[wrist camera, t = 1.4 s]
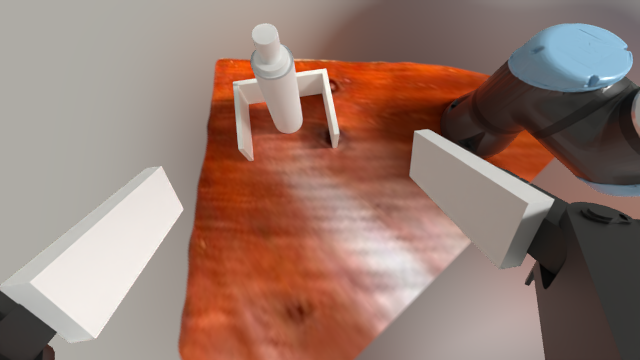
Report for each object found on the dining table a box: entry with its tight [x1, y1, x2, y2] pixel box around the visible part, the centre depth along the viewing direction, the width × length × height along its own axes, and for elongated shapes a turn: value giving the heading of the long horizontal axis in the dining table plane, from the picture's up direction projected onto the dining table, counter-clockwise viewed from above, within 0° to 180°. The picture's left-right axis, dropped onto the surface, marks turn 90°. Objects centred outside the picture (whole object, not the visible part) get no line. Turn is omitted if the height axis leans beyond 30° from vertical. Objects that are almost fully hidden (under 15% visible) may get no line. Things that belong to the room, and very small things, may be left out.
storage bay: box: [233, 69, 339, 161], centre depth 50 cm, size 20×16×7 cm
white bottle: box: [250, 24, 303, 134], centre depth 41 cm, size 7×7×25 cm
